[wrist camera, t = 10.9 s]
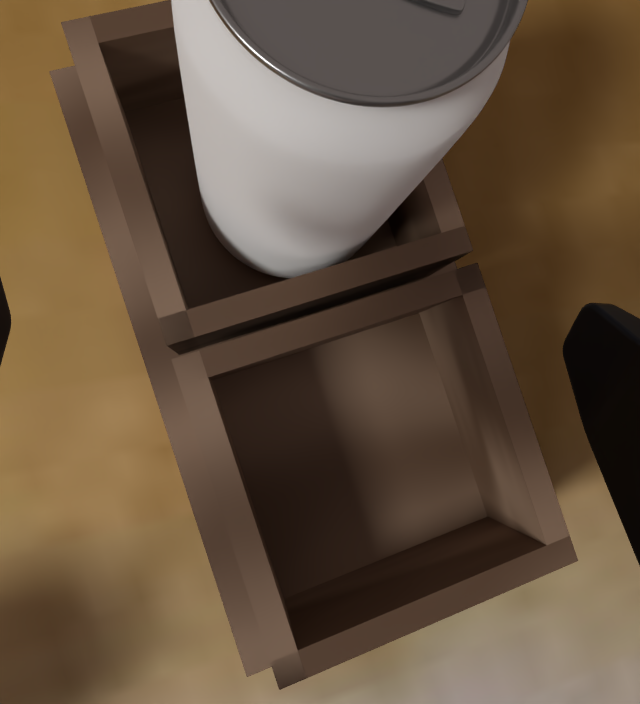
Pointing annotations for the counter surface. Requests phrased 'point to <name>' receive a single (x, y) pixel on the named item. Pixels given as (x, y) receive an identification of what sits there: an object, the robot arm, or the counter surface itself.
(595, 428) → the robot arm
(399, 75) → the can
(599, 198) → the counter surface
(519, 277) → the counter surface
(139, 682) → the counter surface
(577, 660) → the counter surface
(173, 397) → the box
